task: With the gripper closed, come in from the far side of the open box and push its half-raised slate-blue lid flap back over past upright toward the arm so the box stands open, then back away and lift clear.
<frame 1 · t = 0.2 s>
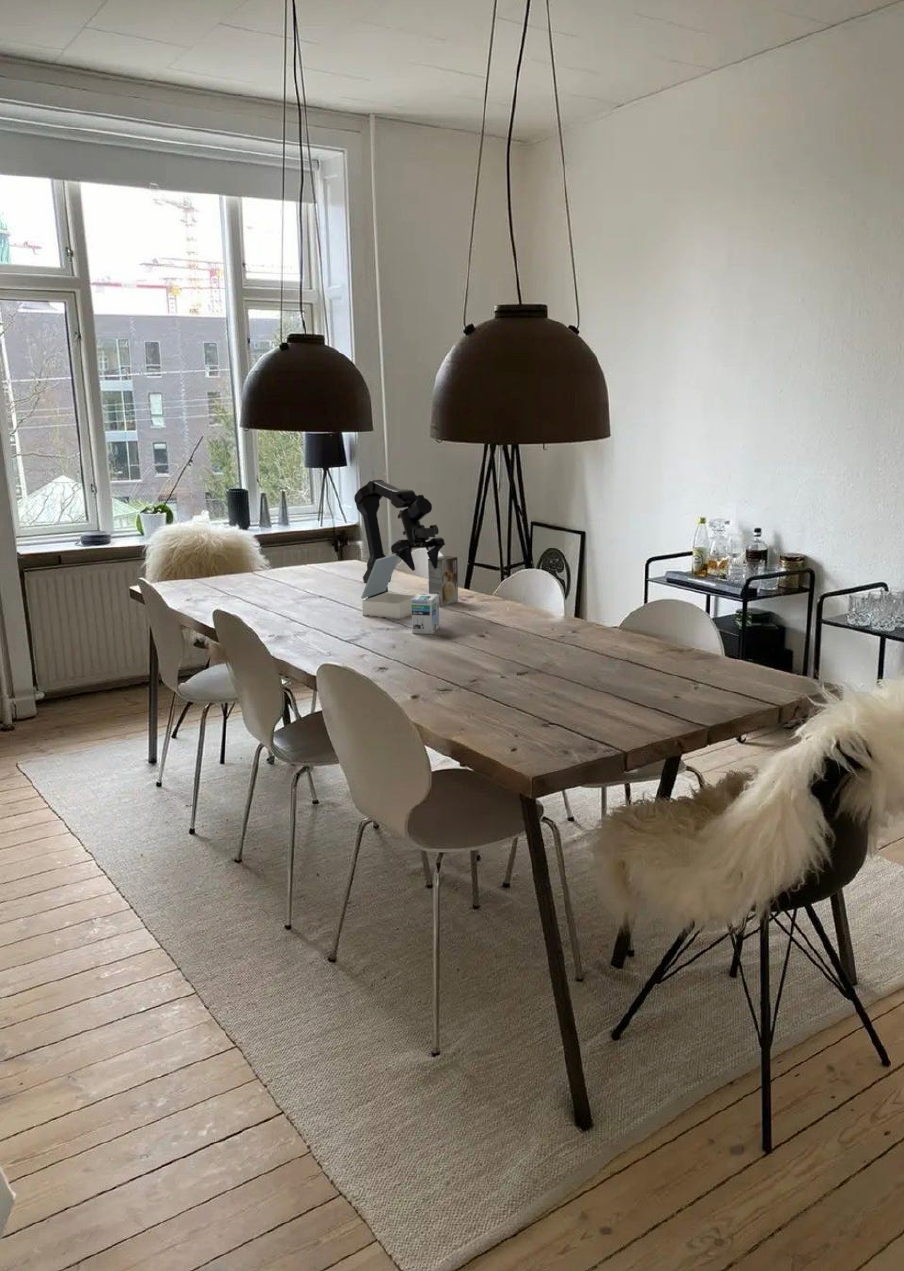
hand: (425, 569, 324), 15 cm above the table, tool tilted 30°, fingers open, 9 cm apart
lid flap: (380, 575, 330), point 12 cm above the table, hinge at 65.0°
light bulb box: (425, 630, 306), on the table
coffee box: (443, 603, 347), on the table
open box: (392, 612, 331), on the table
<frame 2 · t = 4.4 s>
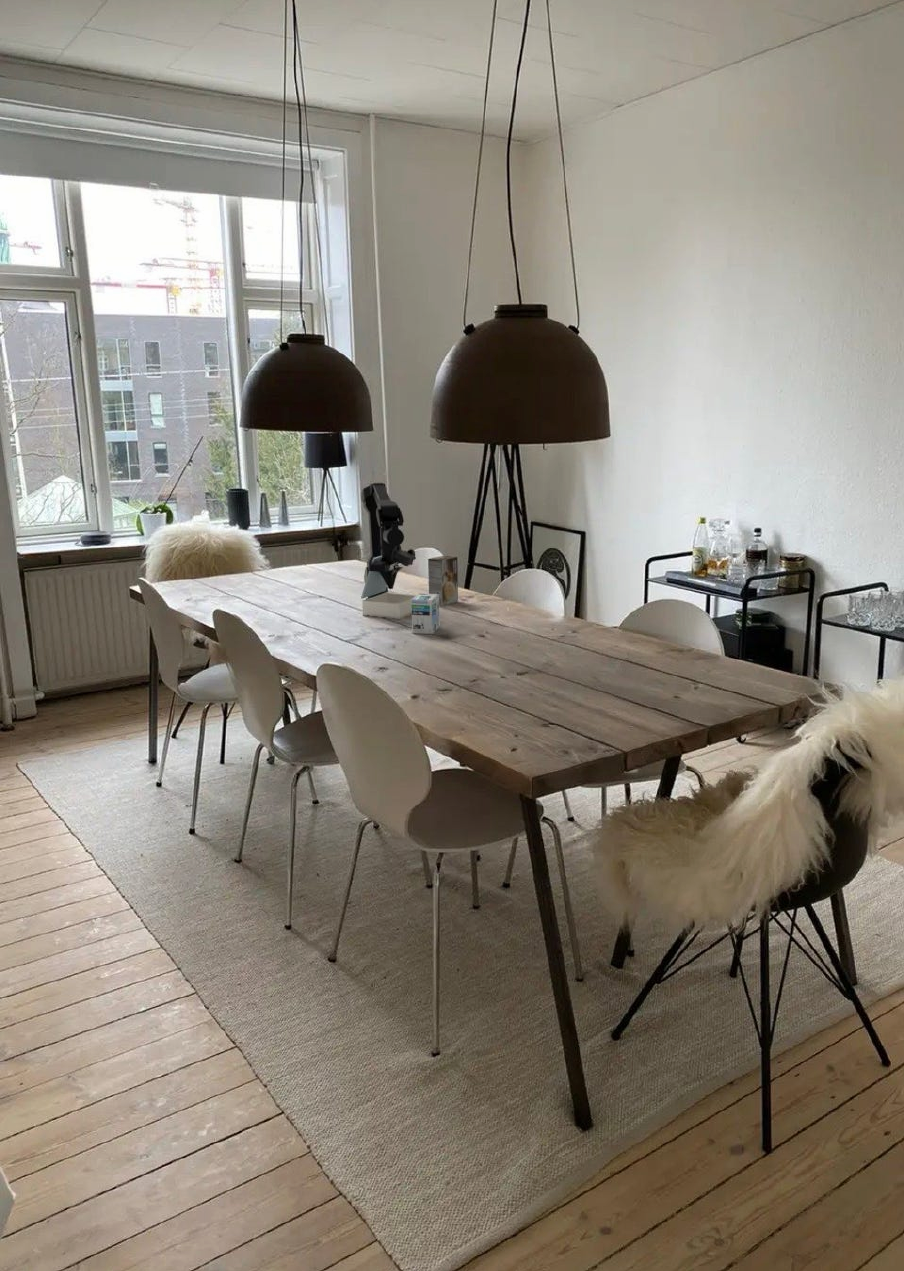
hand: (390, 588, 330), 8 cm above the table, tool pointing down, fingers closed, pressing on lid flap
lid flap: (379, 574, 331), point 13 cm above the table, hinge at 69.9°, touching gripper
everything else where it was.
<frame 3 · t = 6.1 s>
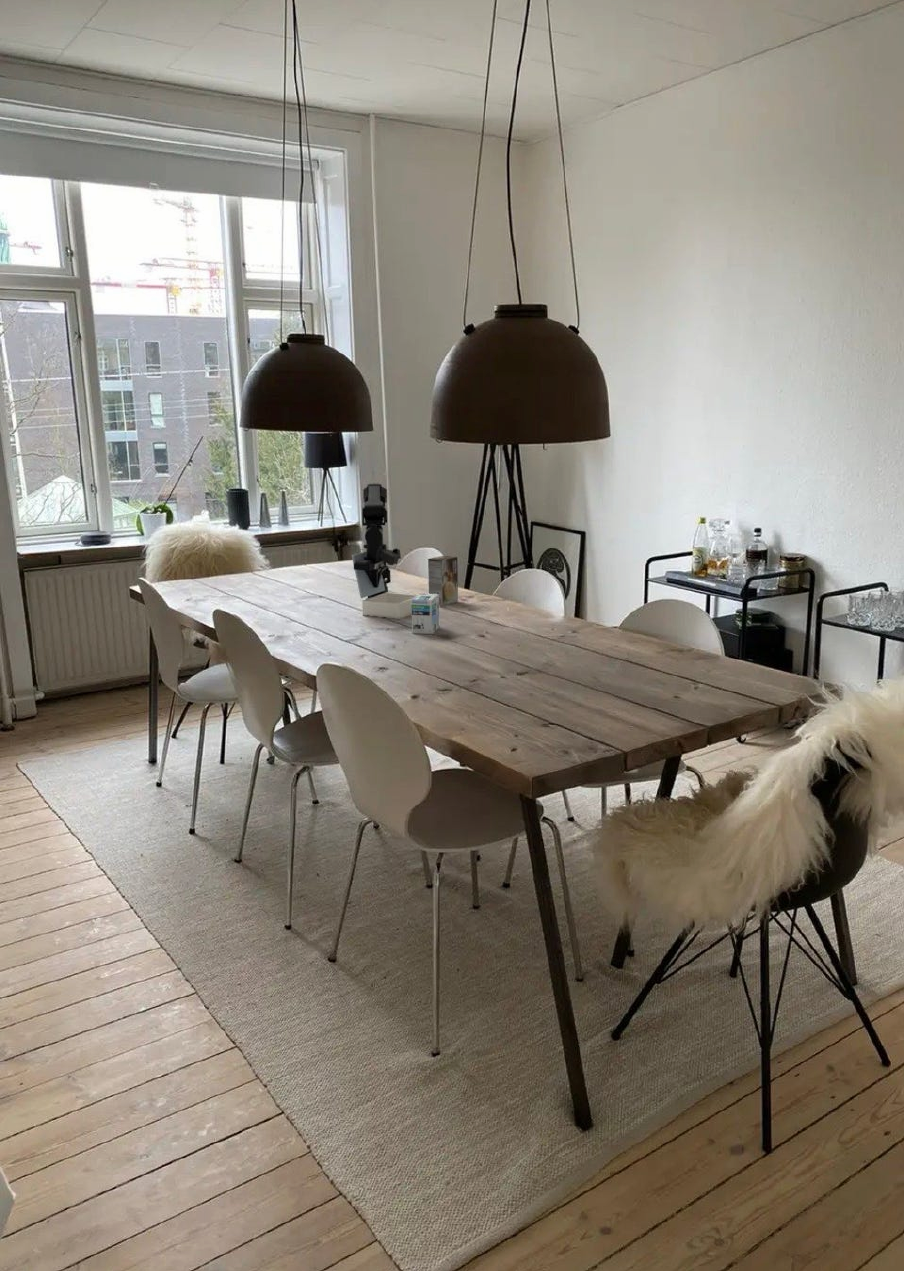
hand: (375, 587, 332), 8 cm above the table, tool pointing down, fingers closed, pressing on lid flap
lid flap: (368, 573, 332), point 13 cm above the table, hinge at 102.1°, touching gripper
everything else where it was.
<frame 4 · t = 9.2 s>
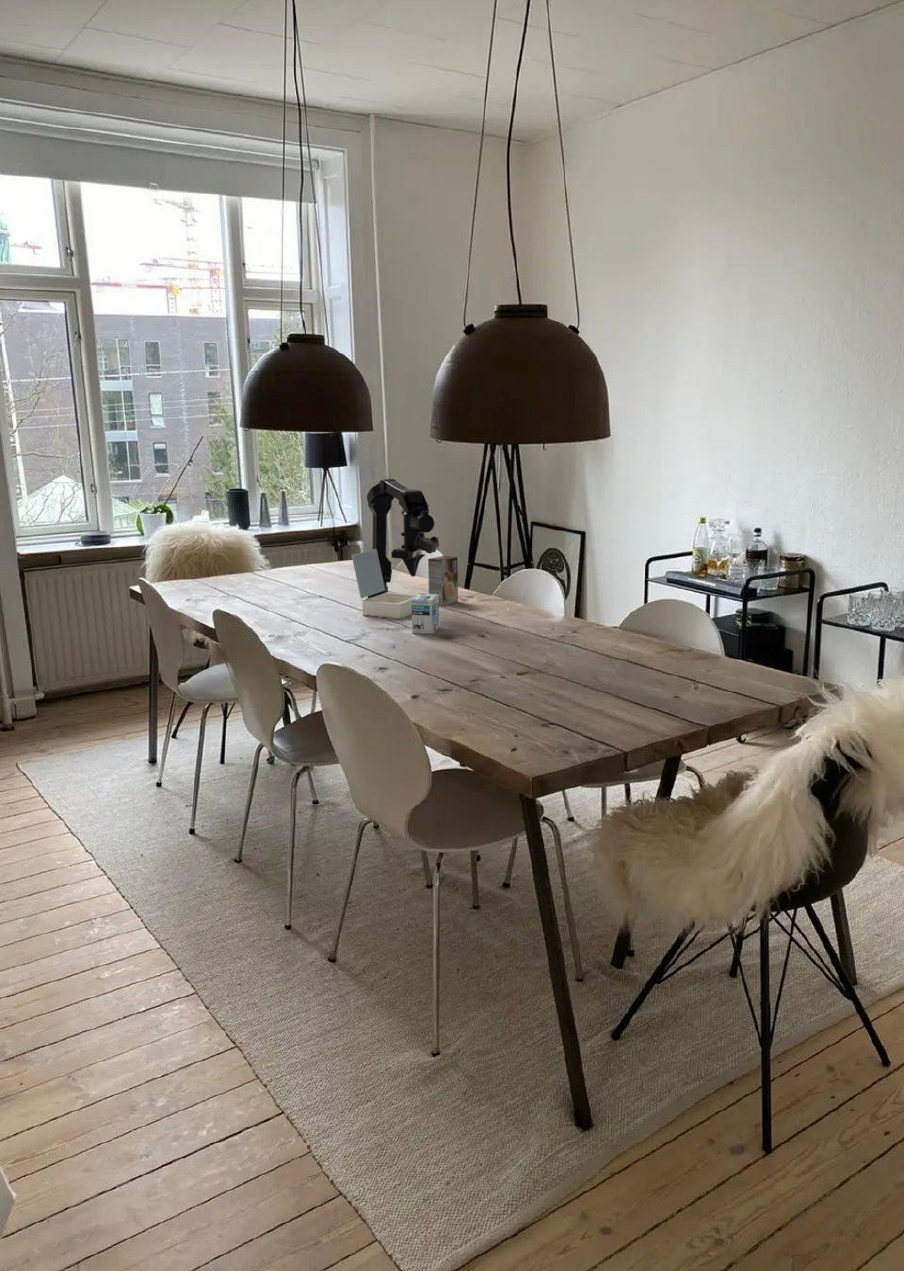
hand: (413, 576, 325), 13 cm above the table, tool pointing down, fingers closed
lid flap: (368, 573, 332), point 13 cm above the table, hinge at 102.2°
everything else where it was.
at the end: lid flap at +102° (first picture: +65°); light bulb box moved 0.3 cm from its start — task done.
